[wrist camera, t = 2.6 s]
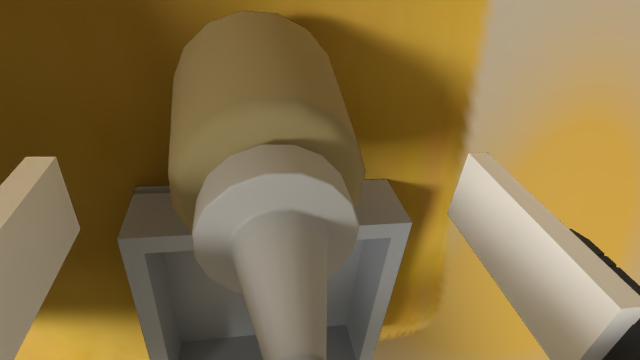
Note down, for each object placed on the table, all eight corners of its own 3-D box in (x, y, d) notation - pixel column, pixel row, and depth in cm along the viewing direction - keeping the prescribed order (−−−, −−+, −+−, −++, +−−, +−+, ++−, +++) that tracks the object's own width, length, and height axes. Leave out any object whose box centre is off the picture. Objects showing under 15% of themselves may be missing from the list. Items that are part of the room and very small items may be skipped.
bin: (169, 344, 34) (161, 401, 30) (135, 186, 25) (117, 239, 21) (354, 323, 38) (368, 372, 34) (386, 179, 28) (412, 222, 24)
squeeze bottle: (236, 155, 25) (242, 488, 10) (148, 47, 20) (-63, 374, 6) (344, 93, 24) (518, 367, 9) (278, -36, 19) (418, 110, 5)
